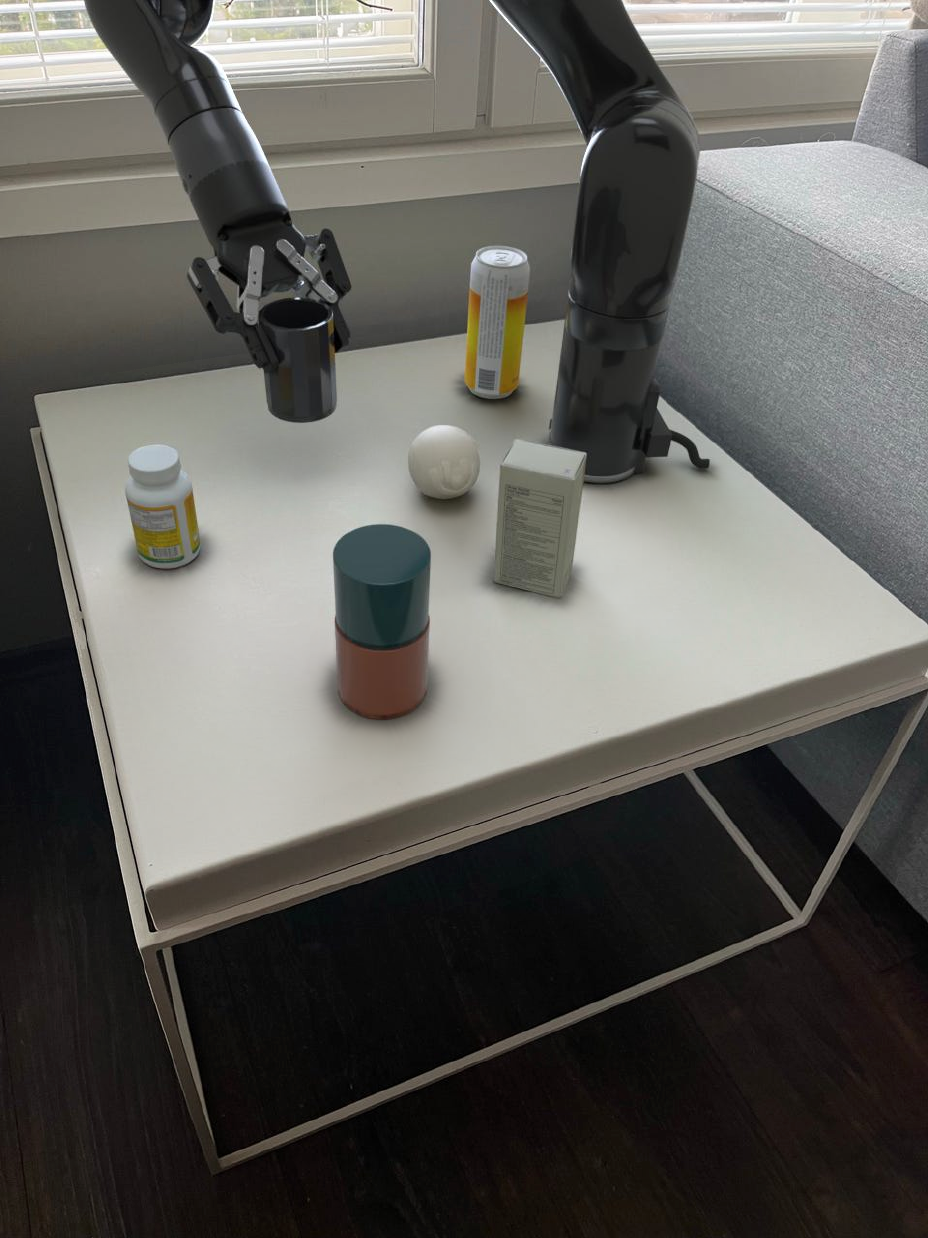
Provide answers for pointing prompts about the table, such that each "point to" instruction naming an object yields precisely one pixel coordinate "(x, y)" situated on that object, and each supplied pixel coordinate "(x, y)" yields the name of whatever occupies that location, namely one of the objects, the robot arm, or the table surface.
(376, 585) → the teal and red cylinder
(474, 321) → the beer can
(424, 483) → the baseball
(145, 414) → the table surface
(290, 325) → the cup
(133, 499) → the supplement bottle
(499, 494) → the cosmetic box
